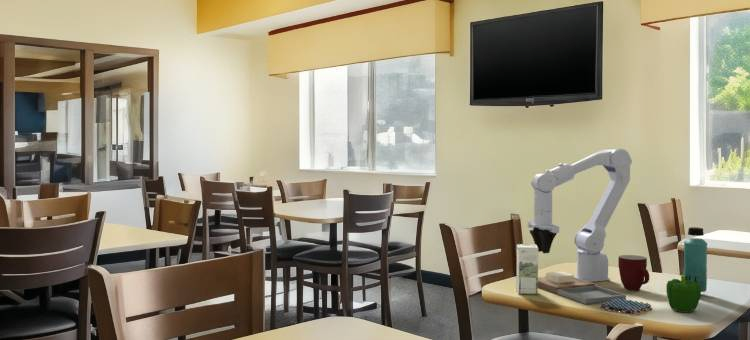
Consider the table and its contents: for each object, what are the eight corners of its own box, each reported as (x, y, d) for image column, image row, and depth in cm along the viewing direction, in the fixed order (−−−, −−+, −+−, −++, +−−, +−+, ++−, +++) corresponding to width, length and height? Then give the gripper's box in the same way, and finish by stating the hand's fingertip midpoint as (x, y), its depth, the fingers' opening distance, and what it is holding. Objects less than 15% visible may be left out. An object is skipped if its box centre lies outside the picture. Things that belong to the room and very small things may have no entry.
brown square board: (566, 280, 215) (566, 274, 215) (595, 290, 202) (595, 283, 202) (529, 284, 210) (529, 278, 210) (556, 294, 197) (556, 287, 197)
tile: (561, 277, 211) (561, 271, 211) (573, 281, 205) (573, 275, 205) (545, 279, 209) (546, 272, 208) (557, 283, 203) (557, 276, 203)
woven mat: (597, 310, 180) (597, 303, 180) (617, 303, 187) (617, 296, 187) (634, 318, 172) (634, 310, 172) (653, 311, 180) (653, 303, 179)
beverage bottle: (705, 293, 197) (706, 226, 196) (708, 298, 191) (709, 229, 190) (681, 291, 199) (682, 225, 198) (683, 296, 193) (684, 228, 192)
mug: (659, 292, 199) (659, 259, 198) (640, 295, 195) (641, 261, 194) (630, 285, 208) (630, 254, 207) (612, 288, 204) (612, 256, 203)
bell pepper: (674, 304, 184) (674, 269, 183) (704, 310, 178) (705, 273, 177) (660, 310, 178) (660, 273, 178) (691, 316, 172) (691, 278, 172)
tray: (595, 290, 202) (595, 285, 202) (625, 300, 190) (626, 294, 189) (557, 294, 197) (557, 289, 197) (585, 304, 185) (585, 299, 185)
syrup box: (535, 290, 202) (535, 243, 201) (538, 295, 196) (538, 246, 195) (516, 290, 202) (516, 243, 202) (518, 294, 197) (518, 246, 196)
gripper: (519, 208, 220) (519, 249, 220) (546, 213, 206) (545, 256, 207) (537, 208, 222) (537, 248, 223) (564, 212, 209) (564, 255, 209)
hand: (542, 252), depth 215 cm, fingers open, 3 cm apart
